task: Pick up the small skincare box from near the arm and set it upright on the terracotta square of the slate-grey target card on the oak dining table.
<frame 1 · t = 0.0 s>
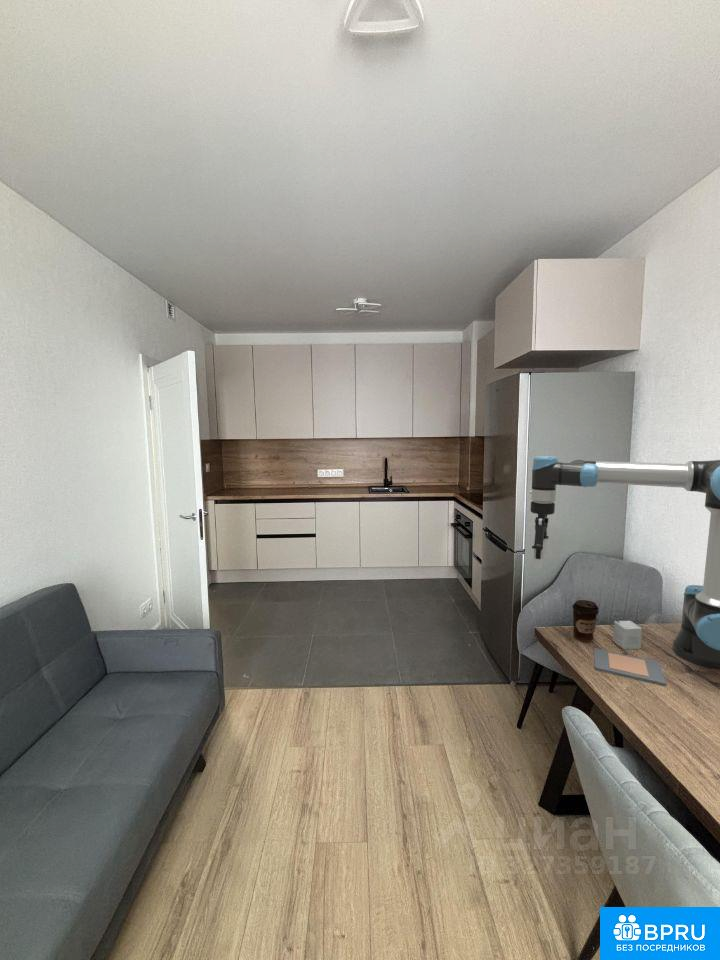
hand: (539, 562, 145), 28 cm above the table, fingers open, 13 cm apart
coffee cup: (583, 639, 149), on the table
target card: (627, 666, 131), on the table
skincare box: (626, 645, 145), on the table
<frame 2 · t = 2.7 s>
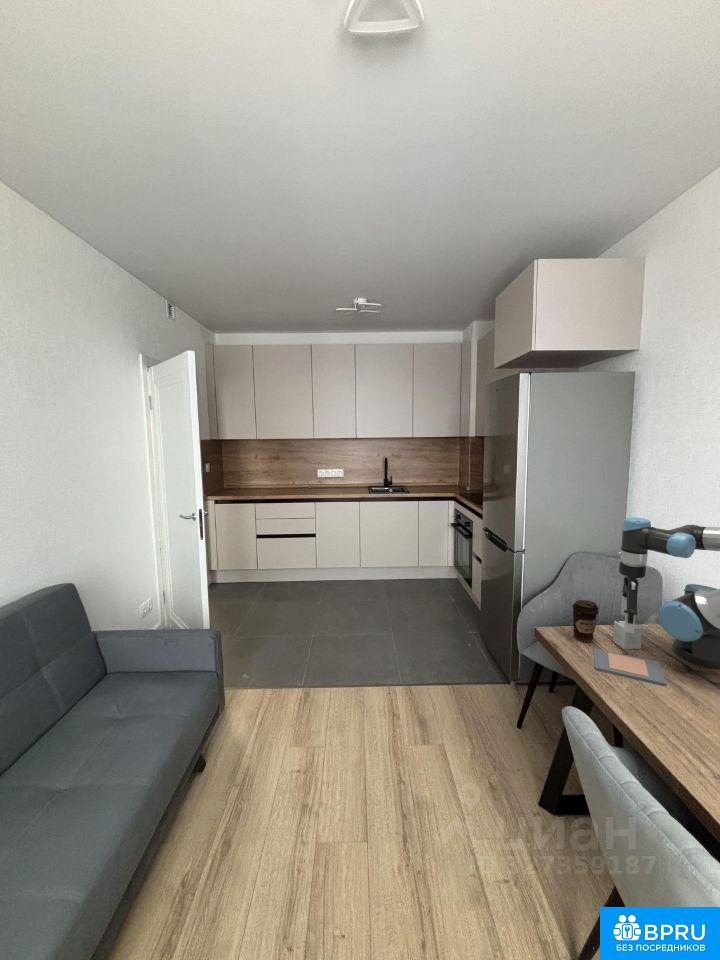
hand: (626, 623, 144), 8 cm above the table, fingers open, 13 cm apart
nothing on the table moved.
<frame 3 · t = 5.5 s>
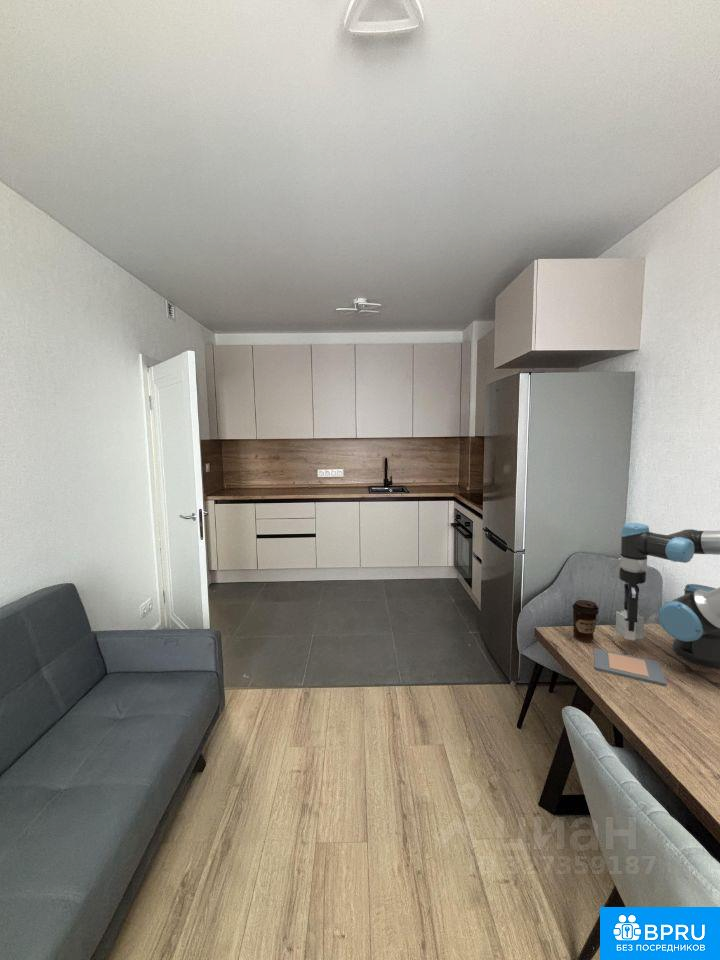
hand: (628, 633, 144), 4 cm above the table, fingers closed on skincare box, 8 cm apart
skincare box: (628, 635, 144), point 4 cm above the table, touching gripper
everything else where it was.
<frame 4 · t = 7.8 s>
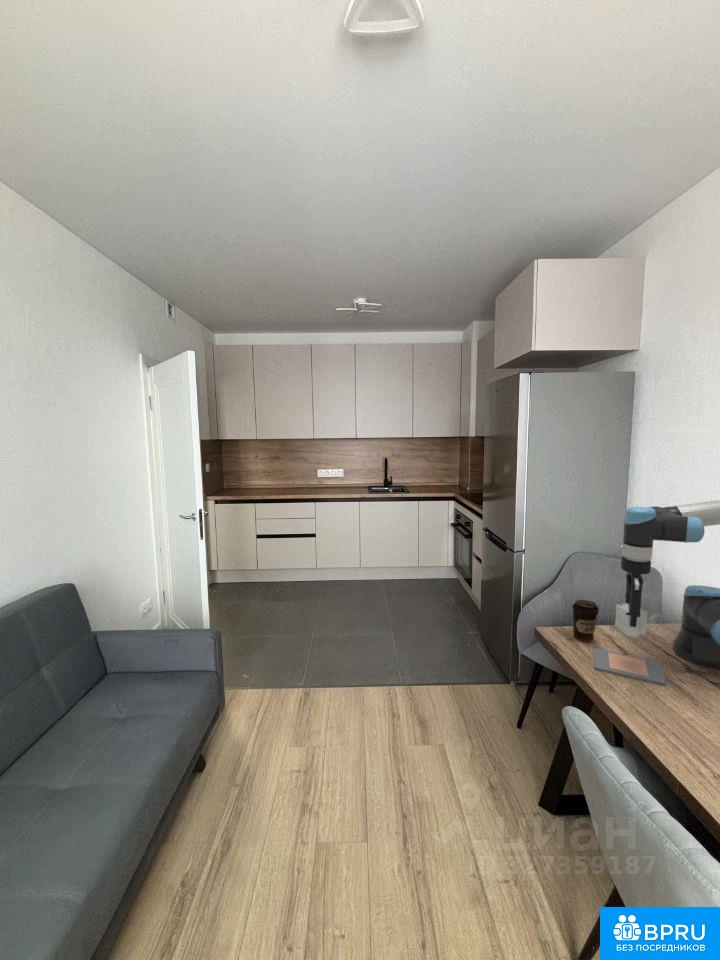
hand: (630, 629, 130), 12 cm above the table, fingers closed on skincare box, 8 cm apart
skincare box: (629, 631, 130), point 12 cm above the table, touching gripper
everything else where it was.
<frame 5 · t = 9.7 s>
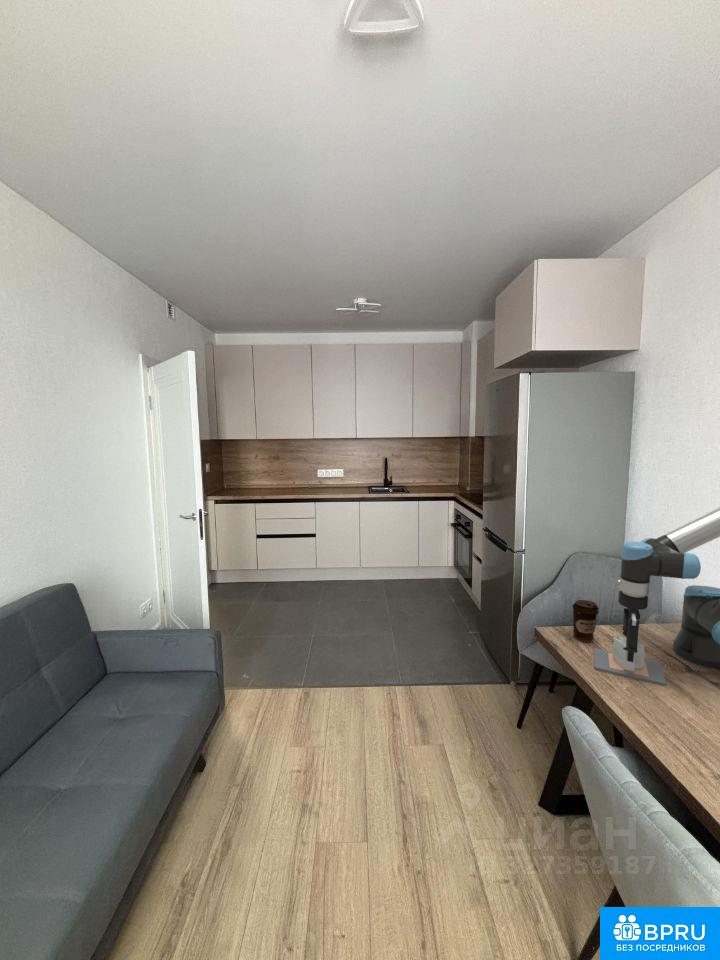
hand: (627, 662, 131), 1 cm above the table, fingers closed on skincare box, 8 cm apart
skincare box: (627, 664, 131), point 1 cm above the table, touching gripper, target card
everything else where it was.
when the fingers open (1 cm above the table, at t = 10.5 s): skincare box stays where it is, resting on target card.
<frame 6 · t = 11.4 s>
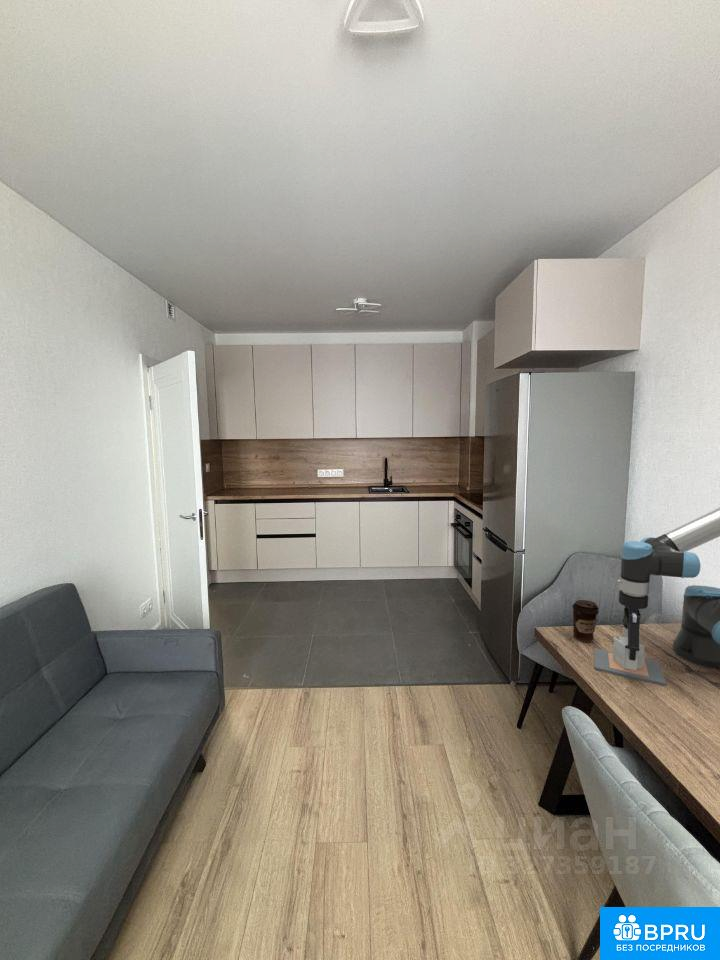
hand: (628, 657, 131), 3 cm above the table, fingers open, 13 cm apart
skincare box: (627, 664, 131), point 1 cm above the table, touching target card
everything else where it was.
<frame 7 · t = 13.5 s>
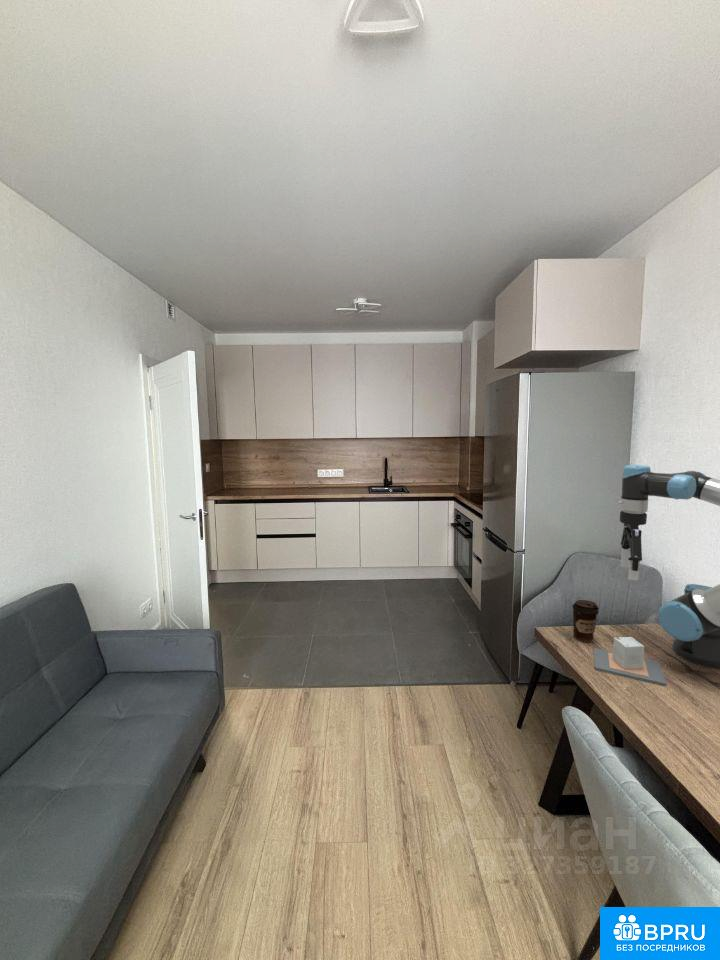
hand: (629, 573, 143), 25 cm above the table, fingers open, 13 cm apart
nothing on the table moved.
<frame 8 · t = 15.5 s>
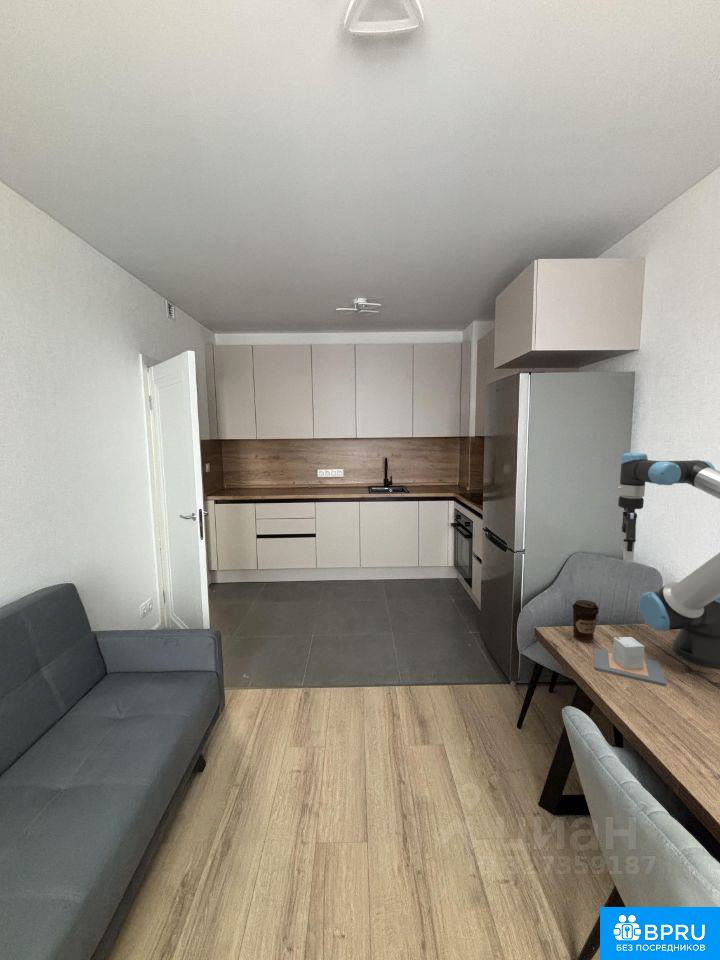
hand: (626, 554, 152), 29 cm above the table, fingers open, 13 cm apart
nothing on the table moved.
at the end: skincare box inside the target area on the target card (0.1 cm from its centre), point 0.8 cm above the target card's base; skincare box tilted 0°; the gripper is holding nothing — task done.
